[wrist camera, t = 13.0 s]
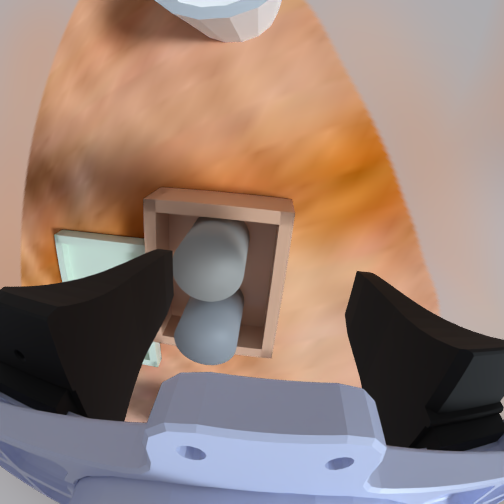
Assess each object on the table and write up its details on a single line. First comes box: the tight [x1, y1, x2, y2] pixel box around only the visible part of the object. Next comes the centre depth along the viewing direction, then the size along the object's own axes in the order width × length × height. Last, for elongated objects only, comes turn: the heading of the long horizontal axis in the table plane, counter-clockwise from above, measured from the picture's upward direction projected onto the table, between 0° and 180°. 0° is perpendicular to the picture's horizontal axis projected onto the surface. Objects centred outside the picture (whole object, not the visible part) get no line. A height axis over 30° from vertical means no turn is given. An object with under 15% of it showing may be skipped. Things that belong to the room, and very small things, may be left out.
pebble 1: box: [173, 216, 250, 302], centre depth 19 cm, size 4×4×5 cm
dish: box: [143, 187, 295, 358], centre depth 21 cm, size 11×9×3 cm
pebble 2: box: [174, 288, 244, 365], centre depth 21 cm, size 4×4×5 cm
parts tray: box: [54, 230, 162, 367], centre depth 24 cm, size 12×9×1 cm
